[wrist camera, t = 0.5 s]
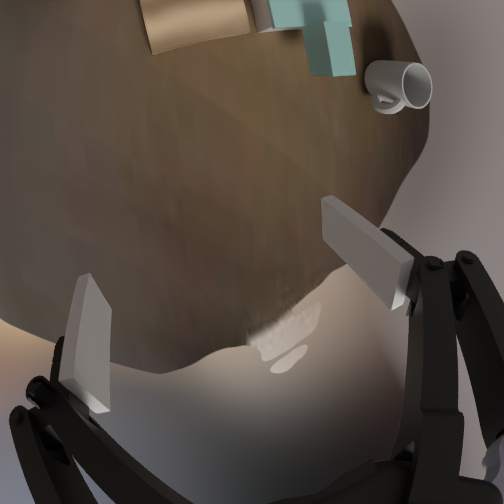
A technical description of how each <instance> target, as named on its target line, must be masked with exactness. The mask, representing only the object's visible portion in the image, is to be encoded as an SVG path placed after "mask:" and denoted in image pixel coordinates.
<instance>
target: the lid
mask: <svg viewBox="0 0 504 504" xmlns="http://www.w3.org/2000/svg"><path fill="white" fill-rule="evenodd" d="M266 2H267V7H268V11H269V15H270V20H271V24H272V29H279V28H294V27H302V31H303V36H304V41H305V46H306V51H307V57H308V63H309V68H310V74H311V76H346V75H356V70H355V63H354V56H353V50H352V44H351V38H350V32H349V27H352V24H351V18H350V13H349V9H348V4H347V0H266Z"/></svg>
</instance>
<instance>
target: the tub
mask: <svg viewBox="0 0 504 504" xmlns="http://www.w3.org/2000/svg"><path fill="white" fill-rule="evenodd" d="M250 1H251V6H252V10H253V14H254V18H255V23H256V27H257V32H258V33H263V32H272V31H284V30H300V29H302V27H294V28H279V29H272V24H271V20H270V15H269V11H268V7H267V2H266V0H250Z"/></svg>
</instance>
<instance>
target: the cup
mask: <svg viewBox="0 0 504 504" xmlns="http://www.w3.org/2000/svg"><path fill="white" fill-rule="evenodd" d="M364 81H365V85H366V88H367V90H368V92H369V93H370V94H371V95H372V98H371V104H372V107H373V108H374V109H375V110H376V111H378V112H380V113H384V114H393V113H396V112H398V111H400V110H401V109H402V108H403V107H404V106H408V107H412V108H416V109H420V108H423V107H425V106H426V105H427V104H428V102H429V101H430V98H431V94H432V81H431V77H430V74H429V73H428V71H427V70H426V68H425V67H424V66H423V65H421V64H419V63H413V62H402V61H387V60H377V61H373V62H372V63H370V64H369V66H368V67H367V68H366V71H365V75H364ZM381 101H387V102H391V103H389V104H383V103H381Z"/></svg>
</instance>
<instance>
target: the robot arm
mask: <svg viewBox="0 0 504 504" xmlns="http://www.w3.org/2000/svg"><path fill="white" fill-rule="evenodd" d="M321 206H322V229H323V240H324V241H325V242H326V243H327V244H328V245H329V246H330V247H331V248H332V249H333V250H334V251H335V252H336V253H337V254H338V255H339V256H340V257H341V258H342V259H343V260H344V261H345V262H346V263H347V264H348V265H349V266H350V267H351V268H352V269H353V270H354V271H355V272H356V274H357V275H359V277H360V278H361V279H362V280H363V281H364V282H365V283H366V284H367V285H368V286H369V287H370V288H371V289H372V291H373V292H374V293H375V294H376V295H377V296H378V297H379V298H380V299H381V300H382V301H383V302H384V303H385V305H386V306H387V307H388V308H389V309H390V310H393V309H395V308H397V307H399V306H400V305H402V304H403V303H404V299H405V295H407V297H409V299H410V303H409V307H408V310H407V313H406V316H408V314H409V334H408V354H407V355H408V356H407V368H406V379H405V388H404V396H403V404H402V411H401V418H400V424H399V430H398V435H397V438H396V441H395V443H394V445H393V448H392V451H391V456H390V460H383V461H377V462H373V461H372V460H369V461H367V462H366V463H364V464H362V465H360V466H358V467H356V468H354V469H352V470H350V471H348V472H347V473H344V474H343V475H342V476H341V477H339V478H338V479H337V480H335V481H334V482H333V483H332V484H330V485H329V486H328V487H326V488H325V489H323V490H322V491H321V492H319V493H317V494H314V495H307V496H301V497H294V498H286V499H282V500H279V501H276V502H272V503H269V504H503V502H504V302H503V300H502V299H501V297H500V295H499V293H498V291H497V289H496V287H495V285H494V284H493V282H492V280H491V278H490V277H489V275H488V273H487V271H486V270H485V268H484V266H483V265H482V263H481V262H480V260H479V258H478V257H477V256H476V255H475V254H473V253H472V252H469V251H465V250H462V251H459V252H458V253H457V254H456V258H455V260H454V261H447V262H443V261H442V260H441V259H439V258H437V257H434V256H426V257H424V256H423V255H422V254H421V253H420V252H418V251H417V250H416V249H414V248H413V247H412V246H411V245H409V244H408V243H407V242H405V240H403V239H402V238H400V237H399V236H398V235H397V234H395V233H394V232H393V231H390V230H388V229H385V228H382V229H378V228H377V227H376V226H374V225H373V224H372V223H370V222H369V221H368V220H366V219H365V218H364V217H362V216H361V215H360V214H358V213H357V212H356V211H354V210H353V209H352V208H350V207H349V206H347V205H346V204H345V203H343V202H342V201H340V200H339V199H338V198H336V197H335V196H333V195H331V196H327V197H324V198H321ZM111 313H112V309H111V308H110V306H109V304H108V303H107V301H106V300H105V298H104V296H103V295H102V293H101V291H100V290H99V288H98V286H97V285H96V283H95V281H94V279H93V278H92V276H91V274H90V273H88V274H85V275H82V276H80V277H78V280H77V283H76V287H75V291H74V295H73V300H72V304H71V308H70V313H69V318H68V323H67V328H66V333H65V336H62V337H60V338H59V339H58V341H57V343H56V345H55V349H54V357H53V361H52V362H53V364H52V367H51V374H50V381H48V380H47V379H46V378H45V377H44V376H37V377H34V378H33V379H32V380H31V381H30V383H29V384H28V386H27V389H26V398H27V400H28V401H30V402H31V403H32V404H33V405H35V407H33V408H31V409H30V410H27V409H26V408H25V407H23V406H20V405H19V406H17V407H15V408H14V409H13V410H12V412H11V414H10V418H9V425H10V429H11V433H12V437H13V441H14V444H15V448H16V452H17V455H18V458H19V461H20V464H21V467H22V470H23V473H24V476H25V479H26V482H27V484H28V487H29V489H30V492H31V494H32V497H33V499H34V501H35V504H98V502H97V501H96V499H95V498H94V496H93V494H92V492H91V491H90V489H89V487H88V485H87V484H86V482H85V480H84V478H83V476H82V475H81V473H80V471H79V469H78V467H77V465H76V463H75V461H74V459H73V457H74V458H75V459H76V461H77V462H78V463H79V464H80V466H81V467H82V468H83V469H84V470H85V472H86V473H87V474H88V475H89V476H90V477H91V478H92V479H93V481H94V482H95V483H96V484H97V485H98V486H99V487H100V488H101V489H102V490H103V491H104V492H105V493H106V494H107V495H108V496H109V497H110V498H111V499H112V500H113V501H114V502H115V503H116V504H193V503H192V502H190V501H189V500H187V499H186V498H184V497H183V496H182V495H180V494H179V493H177V492H176V491H174V490H173V489H172V488H170V487H169V486H168V485H166V484H165V483H164V482H162V481H161V480H160V479H159V478H157V477H156V476H155V475H153V474H152V473H151V472H150V471H148V470H147V469H146V468H145V467H144V466H143V465H141V464H140V463H139V462H138V461H137V460H135V459H134V458H133V457H132V456H131V455H130V454H129V453H128V452H126V451H125V450H124V449H123V448H122V447H121V446H120V445H119V444H118V443H117V442H116V441H115V440H114V439H113V438H112V437H111V436H110V435H109V434H108V433H107V432H106V431H105V430H104V429H103V428H102V427H101V426H100V425H99V424H98V423H97V422H96V421H95V420H94V419H93V418H92V417H91V416H90V415H89V408H90V409H91V410H93V411H94V412H95V413H103V412H108V411H110V378H109V377H110V376H109V366H110V330H111ZM456 335H457V338H458V341H459V344H460V347H461V350H462V353H463V357H464V360H465V364H466V367H467V370H468V374H469V378H470V382H471V386H472V390H473V394H474V398H475V402H476V407H477V412H478V417H479V422H480V427H481V431H482V435H483V439H484V442H485V445H486V448H487V452H486V455H485V457H484V458H483V461H482V466H483V468H485V469H486V476H485V479H484V480H479V479H474V478H468V477H464V476H459V470H460V463H461V455H462V446H463V435H464V416H463V413H461V412H459V410H458V357H457V341H456ZM72 456H73V457H72Z"/></svg>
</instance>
